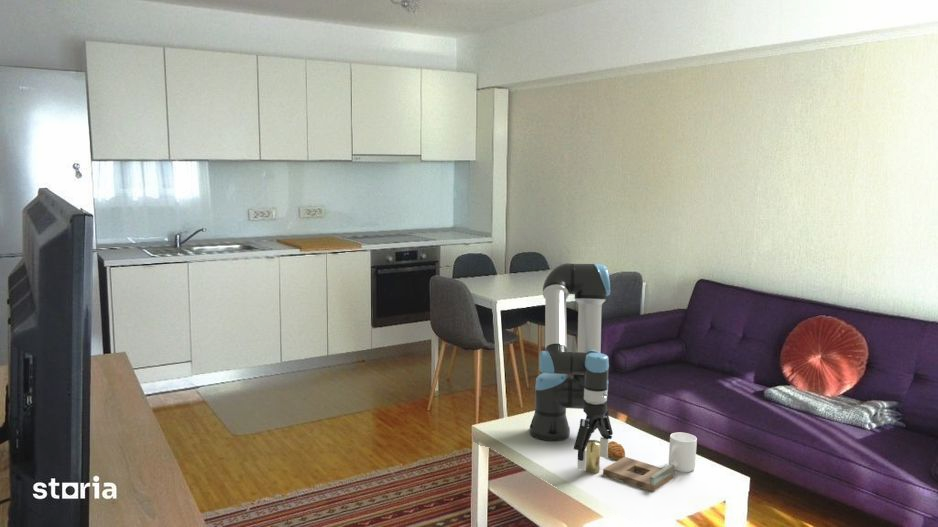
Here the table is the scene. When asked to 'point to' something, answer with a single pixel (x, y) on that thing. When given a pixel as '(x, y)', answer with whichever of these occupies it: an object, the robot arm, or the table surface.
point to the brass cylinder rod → (593, 457)
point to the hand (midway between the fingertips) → (592, 463)
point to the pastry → (615, 450)
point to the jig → (649, 480)
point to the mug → (682, 451)
